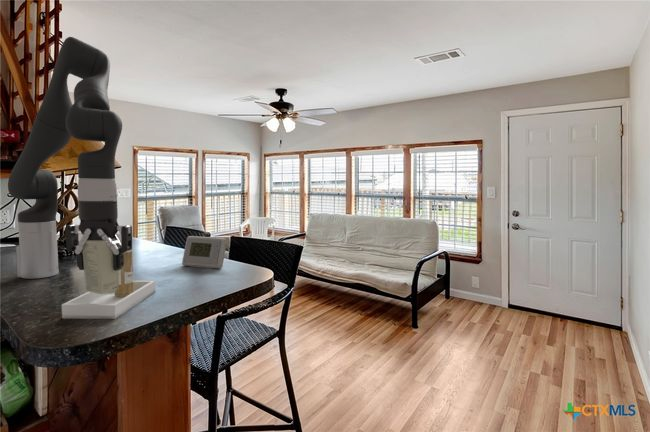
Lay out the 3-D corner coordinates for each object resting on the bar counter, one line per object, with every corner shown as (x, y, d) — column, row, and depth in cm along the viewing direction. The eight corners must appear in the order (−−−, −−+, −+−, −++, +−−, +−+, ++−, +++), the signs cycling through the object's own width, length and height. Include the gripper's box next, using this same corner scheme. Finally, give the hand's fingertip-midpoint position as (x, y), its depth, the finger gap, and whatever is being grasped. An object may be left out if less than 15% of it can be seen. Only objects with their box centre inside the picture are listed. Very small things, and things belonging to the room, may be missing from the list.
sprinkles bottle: (135, 295, 93) (133, 244, 92) (114, 298, 90) (113, 246, 89) (133, 291, 97) (131, 242, 95) (113, 293, 94) (111, 243, 93)
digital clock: (179, 266, 129) (178, 237, 128) (198, 261, 137) (197, 234, 136) (213, 271, 122) (213, 241, 121) (231, 266, 130) (231, 237, 129)
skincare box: (119, 290, 84) (117, 238, 83) (100, 295, 80) (98, 241, 79) (102, 286, 87) (100, 236, 85) (83, 291, 83) (80, 239, 81)
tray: (62, 318, 79) (61, 304, 78) (112, 291, 98) (112, 280, 98) (115, 318, 79) (114, 305, 79) (155, 291, 98) (155, 280, 98)
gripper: (53, 198, 77) (57, 273, 79) (120, 200, 78) (123, 274, 79) (77, 197, 85) (80, 265, 86) (138, 198, 85) (140, 266, 87)
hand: (100, 269), depth 83 cm, fingers closed on skincare box, 7 cm apart
